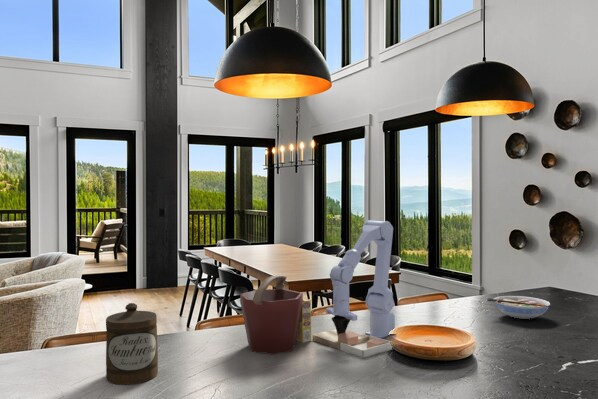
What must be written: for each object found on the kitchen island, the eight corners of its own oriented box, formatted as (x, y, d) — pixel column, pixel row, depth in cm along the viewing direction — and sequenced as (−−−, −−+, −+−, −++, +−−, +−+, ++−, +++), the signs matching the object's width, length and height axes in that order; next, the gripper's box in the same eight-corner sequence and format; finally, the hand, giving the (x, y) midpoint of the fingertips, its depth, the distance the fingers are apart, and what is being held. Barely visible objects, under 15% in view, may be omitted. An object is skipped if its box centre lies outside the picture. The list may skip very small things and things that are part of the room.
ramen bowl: (556, 316, 225) (556, 297, 225) (549, 328, 206) (549, 307, 206) (496, 309, 239) (496, 291, 238) (485, 319, 219) (485, 300, 219)
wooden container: (107, 388, 144) (106, 311, 144) (105, 371, 158) (104, 300, 158) (161, 380, 150) (160, 306, 150) (154, 364, 164) (153, 296, 163)
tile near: (387, 341, 178) (387, 348, 178) (376, 338, 182) (376, 345, 182) (377, 344, 175) (377, 351, 175) (366, 341, 179) (366, 348, 179)
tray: (370, 341, 188) (370, 335, 188) (393, 349, 179) (393, 342, 179) (340, 349, 178) (340, 342, 178) (362, 357, 170) (362, 350, 170)
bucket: (270, 333, 199) (270, 269, 198) (318, 343, 186) (317, 275, 186) (227, 349, 179) (226, 278, 178) (277, 361, 166) (276, 285, 166)
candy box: (311, 341, 189) (311, 300, 188) (302, 343, 186) (302, 301, 186) (298, 335, 196) (298, 295, 196) (289, 337, 194) (289, 297, 194)
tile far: (348, 338, 184) (348, 331, 184) (357, 342, 181) (358, 336, 180) (337, 340, 181) (338, 334, 181) (347, 345, 177) (347, 338, 177)
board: (342, 332, 200) (342, 327, 200) (369, 341, 188) (369, 336, 188) (312, 339, 190) (312, 334, 190) (339, 349, 179) (339, 344, 179)
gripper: (319, 297, 187) (319, 334, 187) (346, 304, 175) (346, 343, 176) (334, 294, 191) (334, 331, 191) (361, 301, 180) (361, 339, 180)
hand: (341, 336), depth 184 cm, fingers closed
